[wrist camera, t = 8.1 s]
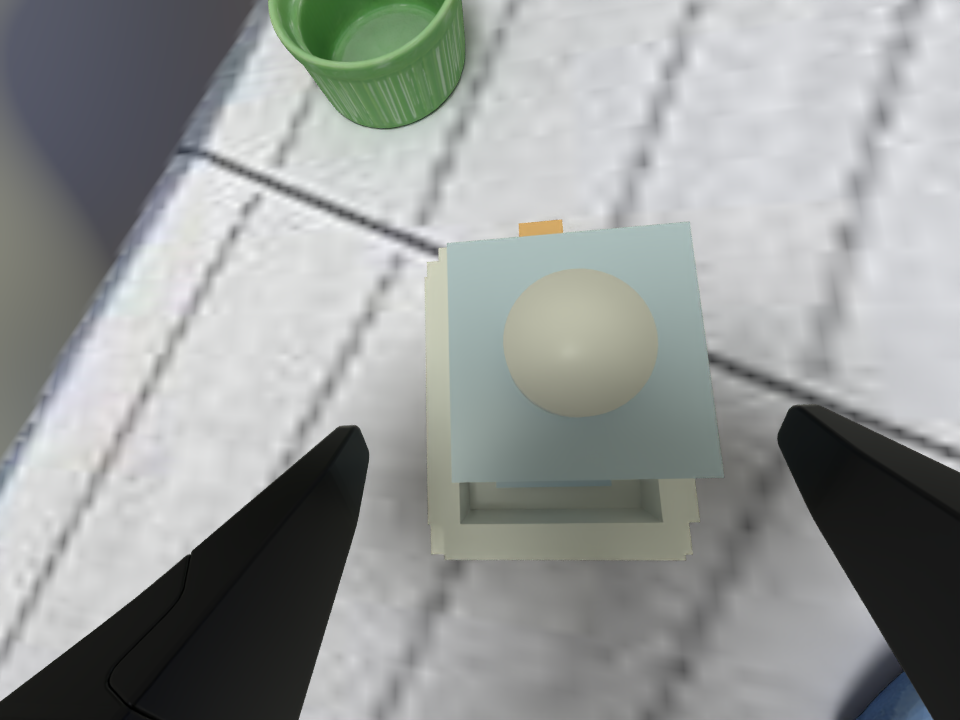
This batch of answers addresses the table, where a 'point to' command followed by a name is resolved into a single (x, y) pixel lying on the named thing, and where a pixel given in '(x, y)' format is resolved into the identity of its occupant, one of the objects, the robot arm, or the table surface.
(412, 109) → the ramekin
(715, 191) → the table surface
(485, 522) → the pocket tray
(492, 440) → the block
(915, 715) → the pair of gloves
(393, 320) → the table surface
